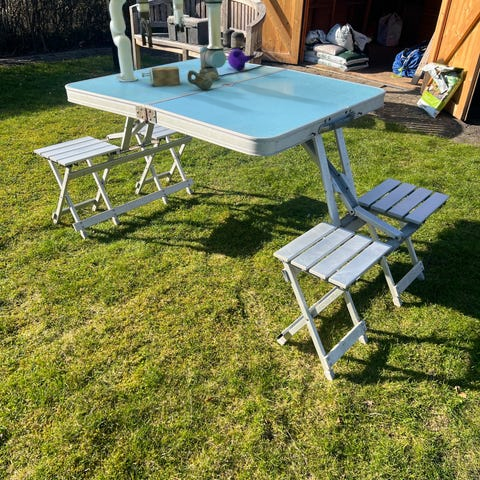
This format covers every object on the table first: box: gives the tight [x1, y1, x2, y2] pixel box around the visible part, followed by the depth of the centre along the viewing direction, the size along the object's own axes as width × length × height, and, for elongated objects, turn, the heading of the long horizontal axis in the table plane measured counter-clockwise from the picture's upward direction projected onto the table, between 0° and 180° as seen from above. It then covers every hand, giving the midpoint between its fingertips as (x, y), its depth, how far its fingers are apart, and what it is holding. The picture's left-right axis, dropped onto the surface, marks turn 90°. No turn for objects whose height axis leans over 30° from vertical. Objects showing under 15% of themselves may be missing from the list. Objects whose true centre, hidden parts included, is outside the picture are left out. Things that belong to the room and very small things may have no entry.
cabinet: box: [151, 66, 181, 88], centre depth 325 cm, size 19×11×11 cm, turn 103°
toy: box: [227, 48, 258, 72], centre depth 368 cm, size 16×18×27 cm
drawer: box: [141, 69, 154, 86], centre depth 324 cm, size 23×10×9 cm, turn 103°
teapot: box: [187, 66, 218, 91], centre depth 306 cm, size 21×12×15 cm, turn 109°
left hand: (180, 32), depth 344 cm, fingers open, 9 cm apart
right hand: (147, 46), depth 298 cm, fingers open, 13 cm apart
